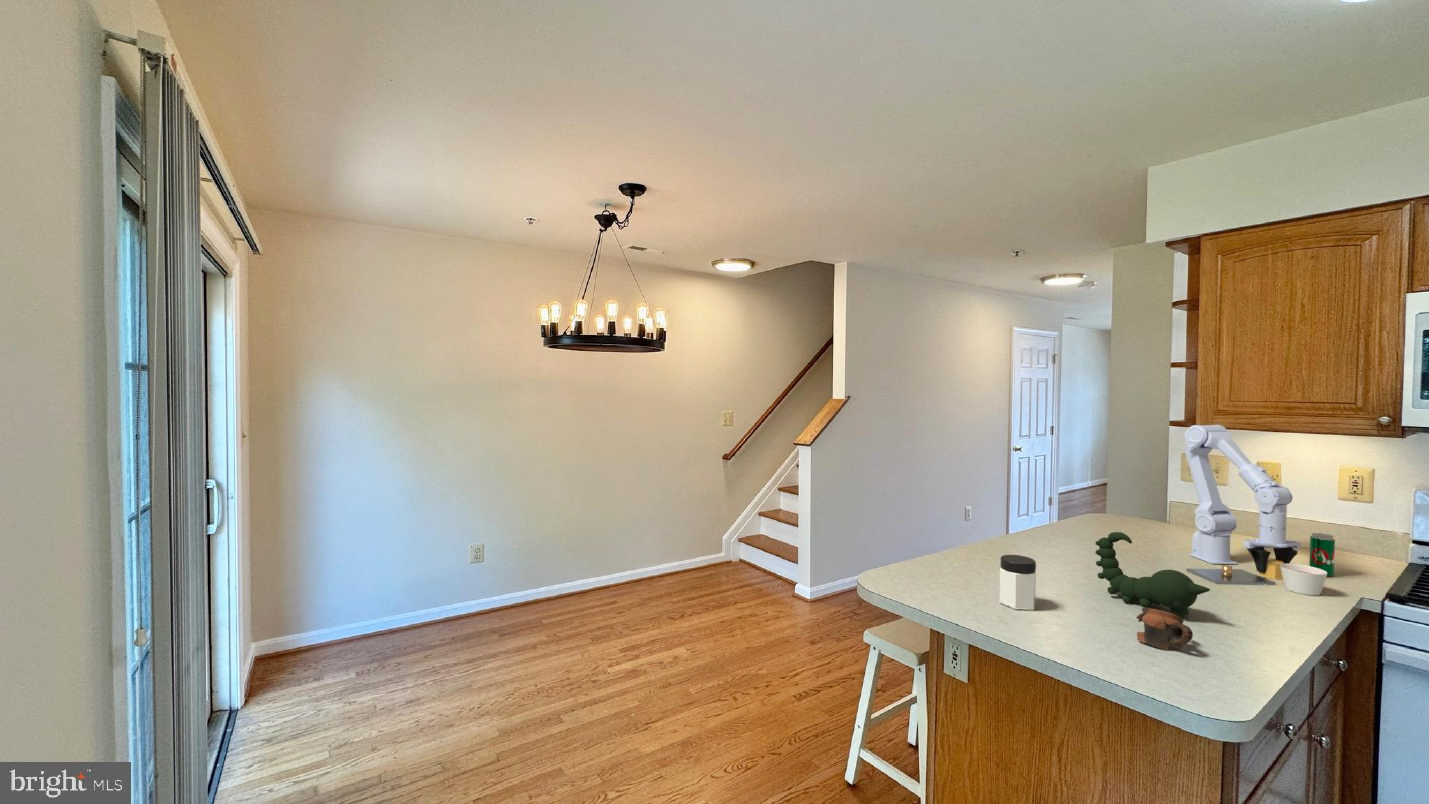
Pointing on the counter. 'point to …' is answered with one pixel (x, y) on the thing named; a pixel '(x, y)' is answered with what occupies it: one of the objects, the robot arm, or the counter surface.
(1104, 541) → the toy figurine
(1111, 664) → the counter surface
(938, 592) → the counter surface
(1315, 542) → the soda can
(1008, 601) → the jar
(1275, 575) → the orange cap
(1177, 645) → the pottery mug
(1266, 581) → the plate
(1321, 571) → the candle
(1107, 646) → the counter surface
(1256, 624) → the counter surface
